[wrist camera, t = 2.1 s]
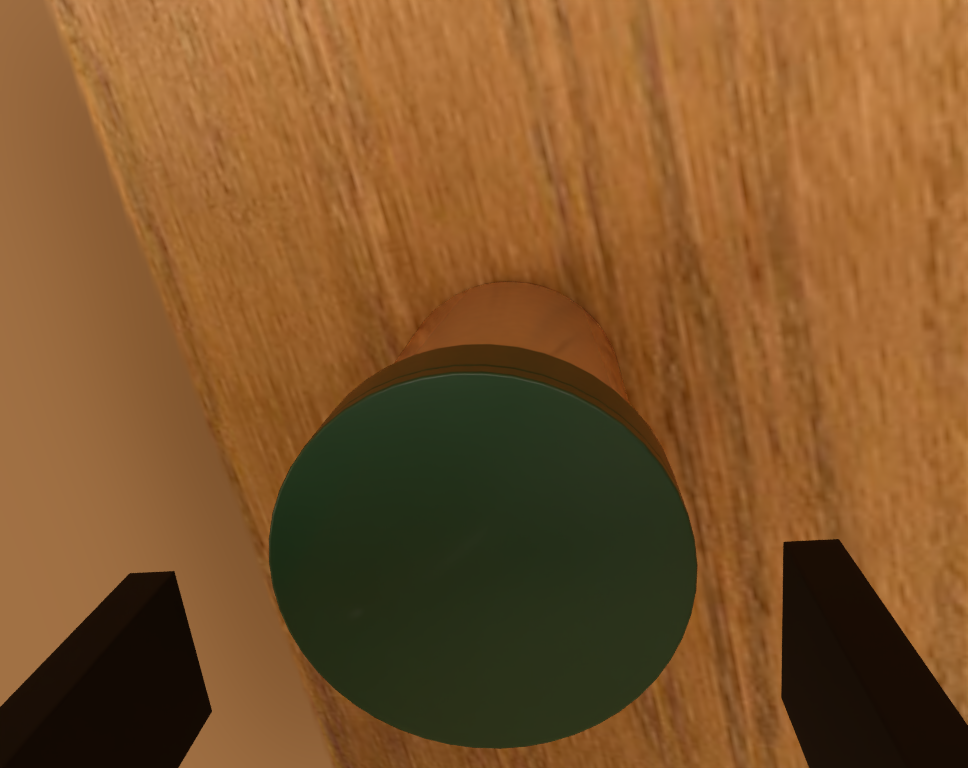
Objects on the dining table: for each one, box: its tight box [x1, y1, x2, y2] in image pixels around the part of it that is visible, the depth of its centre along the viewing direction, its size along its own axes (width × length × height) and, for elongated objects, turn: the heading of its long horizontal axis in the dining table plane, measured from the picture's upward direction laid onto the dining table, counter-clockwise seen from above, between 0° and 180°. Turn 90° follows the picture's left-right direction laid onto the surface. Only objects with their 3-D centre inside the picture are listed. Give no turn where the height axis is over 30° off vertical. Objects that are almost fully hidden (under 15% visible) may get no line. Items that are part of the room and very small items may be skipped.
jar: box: [395, 282, 629, 403], centre depth 19 cm, size 7×7×10 cm
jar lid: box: [269, 344, 697, 749], centre depth 14 cm, size 8×8×2 cm
